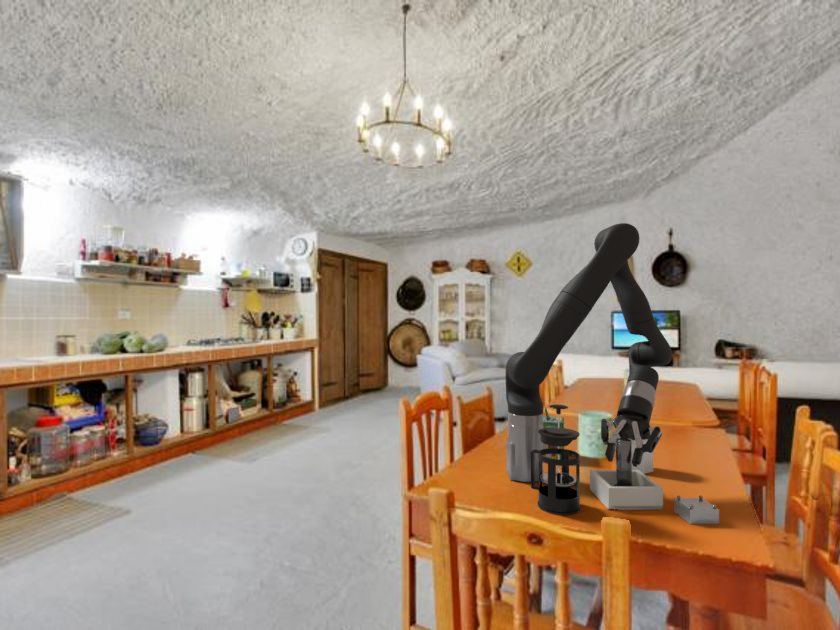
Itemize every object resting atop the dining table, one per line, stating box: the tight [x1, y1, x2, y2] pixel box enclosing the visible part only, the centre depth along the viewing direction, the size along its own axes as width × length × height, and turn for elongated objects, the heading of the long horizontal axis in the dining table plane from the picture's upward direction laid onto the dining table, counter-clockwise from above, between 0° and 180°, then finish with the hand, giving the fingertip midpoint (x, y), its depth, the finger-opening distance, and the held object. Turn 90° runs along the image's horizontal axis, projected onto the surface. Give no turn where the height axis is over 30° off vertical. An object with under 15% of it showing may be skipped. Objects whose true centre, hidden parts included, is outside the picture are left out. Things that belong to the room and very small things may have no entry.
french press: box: [530, 403, 582, 516], centre depth 106 cm, size 12×9×23 cm
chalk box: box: [543, 406, 565, 460], centre depth 142 cm, size 9×9×15 cm
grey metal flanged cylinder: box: [614, 438, 633, 486], centre depth 109 cm, size 5×5×13 cm
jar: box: [630, 431, 654, 475], centre depth 130 cm, size 9×8×12 cm
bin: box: [589, 469, 664, 511], centre depth 109 cm, size 12×12×5 cm
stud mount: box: [673, 494, 720, 525], centre depth 99 cm, size 6×6×4 cm
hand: (621, 462), depth 108 cm, fingers open, 5 cm apart
